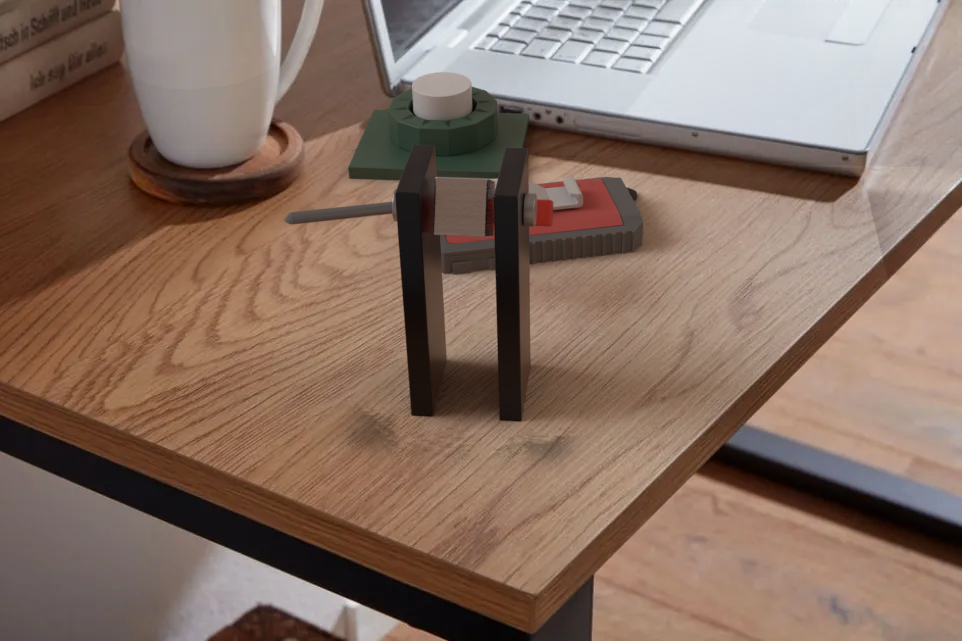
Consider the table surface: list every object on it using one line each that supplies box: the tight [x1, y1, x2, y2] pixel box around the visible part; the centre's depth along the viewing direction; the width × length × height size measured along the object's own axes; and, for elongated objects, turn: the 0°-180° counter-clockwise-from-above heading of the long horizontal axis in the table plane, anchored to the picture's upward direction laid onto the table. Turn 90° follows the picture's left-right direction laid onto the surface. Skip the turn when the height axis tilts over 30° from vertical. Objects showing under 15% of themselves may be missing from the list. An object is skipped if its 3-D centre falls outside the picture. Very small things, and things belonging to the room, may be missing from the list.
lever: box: [433, 177, 554, 237], centre depth 61 cm, size 12×6×2 cm, turn 173°
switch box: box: [347, 86, 530, 181], centre depth 82 cm, size 10×8×4 cm
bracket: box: [391, 145, 537, 423], centre depth 59 cm, size 8×8×13 cm
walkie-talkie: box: [284, 175, 644, 275], centre depth 73 cm, size 9×4×20 cm
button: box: [411, 71, 473, 120], centre depth 81 cm, size 4×4×2 cm
